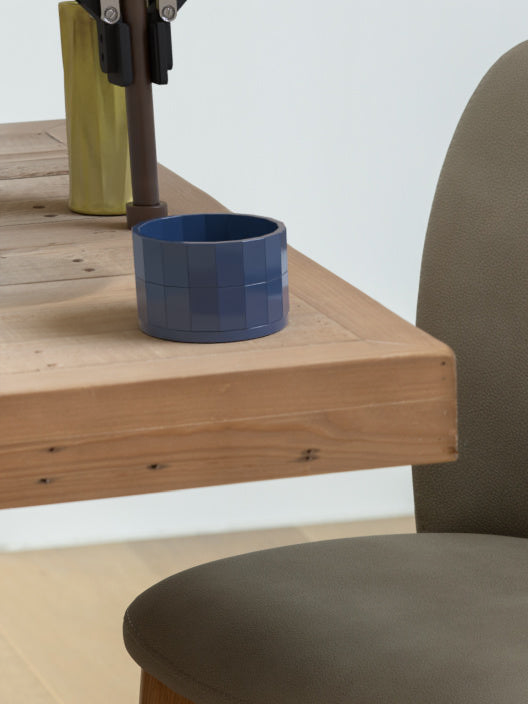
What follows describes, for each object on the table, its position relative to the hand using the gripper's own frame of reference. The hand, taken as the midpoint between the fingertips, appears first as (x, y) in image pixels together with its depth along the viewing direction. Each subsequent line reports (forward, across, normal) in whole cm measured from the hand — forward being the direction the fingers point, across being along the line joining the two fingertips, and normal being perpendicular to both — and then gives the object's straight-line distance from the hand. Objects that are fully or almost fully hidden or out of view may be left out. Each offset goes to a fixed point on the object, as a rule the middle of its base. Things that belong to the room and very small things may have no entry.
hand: (137, 81), depth 104 cm
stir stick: (+10, 0, 0) cm, 10 cm away
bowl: (+10, -6, -26) cm, 28 cm away
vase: (+10, 0, +7) cm, 12 cm away
